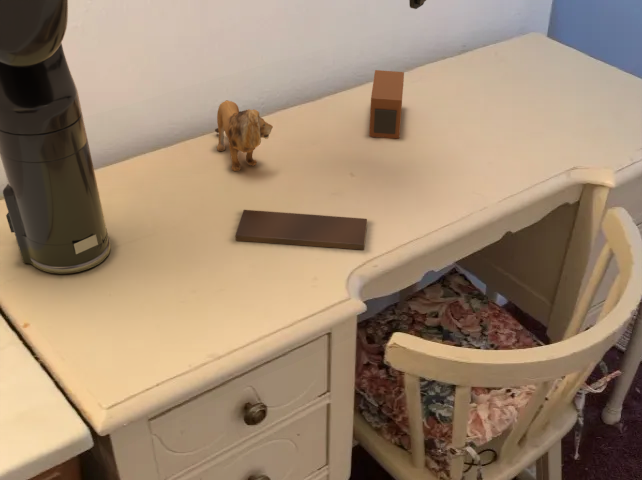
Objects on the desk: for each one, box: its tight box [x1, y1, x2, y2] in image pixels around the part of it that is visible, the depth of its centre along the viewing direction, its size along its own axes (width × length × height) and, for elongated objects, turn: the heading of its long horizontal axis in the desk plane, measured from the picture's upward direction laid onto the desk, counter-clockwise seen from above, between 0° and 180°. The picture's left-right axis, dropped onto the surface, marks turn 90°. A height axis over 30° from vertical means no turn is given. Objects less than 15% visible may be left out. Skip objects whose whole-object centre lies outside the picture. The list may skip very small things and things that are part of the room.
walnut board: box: [234, 209, 368, 251], centre depth 105 cm, size 16×6×1 cm, turn 87°
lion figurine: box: [214, 100, 274, 172], centre depth 116 cm, size 15×5×9 cm, turn 33°
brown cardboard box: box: [368, 69, 405, 139], centre depth 127 cm, size 4×10×6 cm, turn 177°
